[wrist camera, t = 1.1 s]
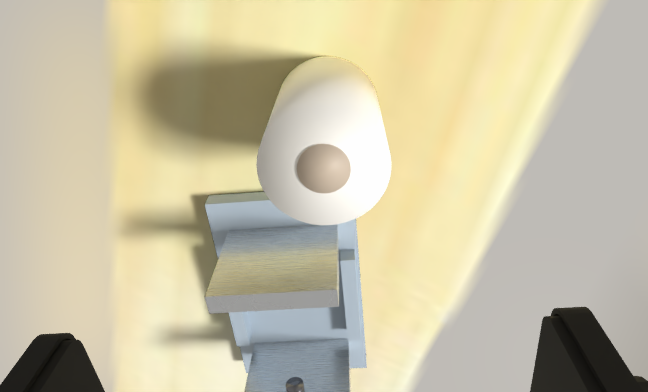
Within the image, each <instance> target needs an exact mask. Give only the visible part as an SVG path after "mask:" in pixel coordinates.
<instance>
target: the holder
mask: <svg viewBox="0 0 648 392" xmlns="http://www.w3.org/2000/svg"><path fill="white" fill-rule="evenodd" d="M205 208H206V212H207V216H208V220H209V224H210V228H211V232H212V236H213V241H214V245H215V249H216V253H217V257H218V259H219V256H220V253H221V250H222V248H223V245H224V242H225V239H226V237H227V234H228V231H229V230H235V229H251V228H266V227H282V226H297V225H312V224H309V223H305V222H302V221H299V220H296V219H294V218H292V217H290V216H288V215H287V214H285V213H283V212H282V211H281V210H279V209H278V208H277V207H276V206H275V205H274V204H273V203H272V202H271V201H270V199H269V198H268V197H267V196H266V194H265V192H251V193H237V194H222V195H209V196H208V199H207V201H206V203H205ZM338 233H339V307H324V308H305V309H286V310H267V311H248V312H229V317H230V321H231V325H232V329H233V333H234V337H235V341H236V345H237V346H240V349H241V354H242V358H243V362H244V366H245V370H246V373H248V372H249V367H250V362H251V357H252V352H253V347H254V343H260V342H281V341H302V340H322V339H343V338H348V341H349V349H350V368H367V366H366V350H365V337H364V323H363V309H362V295H361V282H360V268H359V254H358V240H357V227H356V219H354V220H351V221H348V222H345V223H341V224H338Z"/></svg>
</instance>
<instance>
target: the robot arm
mask: <svg viewBox="0 0 648 392" xmlns="http://www.w3.org/2000/svg"><path fill="white" fill-rule="evenodd" d="M0 392H105V391H104V389H103V387H102V385H101V382H100V380H99V378H98V376H97V374H96V372H95V370H94V368H93V365H92V363H91V361H90V359H89V357H88V355H87V352H86V350H85V348H84V346H83V344H82V343H81V341H79V340H76V339H75V338H74V336H73V335H72V334H70V333H59V334H41V335H39V336H37V337H36V338H35V339H34V340H33V341H32V343H31V344H30V345H29V347H28V348H27V349H26V351H25V352H24V354H23V355H22V356H21V358H20V359H19V360H18V362H17V363H16V365H15V366H14V367H13V368H12V370H11V371H10V373H9V374H8V375H7V377H6V378H5V379H4V381H3V382H2V384H1V385H0ZM530 392H648V381H647V380H645V379H644V378H643V377H639V376H633V375H632V373H631V372H630V371H629V369H628V367H627V366H626V364H625V363H624V361H623V360H622V358H621V357H620V355H619V353H618V352H617V350H616V349H615V347H614V346H613V344H612V343H611V341H610V340H609V338H608V337H607V335H606V334H605V332H604V330H603V329H602V327H601V326H600V324H599V323H598V321H597V320H596V318H595V317H594V315H593V314H592V312H591V311H590V310H589V309H588V308H587V307H573V308H555V309H553V311H552V313H551V316H548V317H547V316H546V317H544V318H543V321H542V326H541V333H540V338H539V343H538V349H537V355H536V361H535V367H534V373H533V379H532V384H531V391H530Z"/></svg>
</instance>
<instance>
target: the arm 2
mask: <svg viewBox="0 0 648 392" xmlns="http://www.w3.org/2000/svg"><path fill="white" fill-rule="evenodd" d="M245 392H351V386H350V349H349V341H348V338H343V339H322V340H302V341H281V342H260V343H254V347H253V352H252V357H251V362H250V367H249V372H248V377H247V382H246V387H245Z"/></svg>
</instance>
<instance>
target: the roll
mask: <svg viewBox="0 0 648 392" xmlns="http://www.w3.org/2000/svg"><path fill="white" fill-rule="evenodd" d="M257 174H258V177H259V181H260V184H261V186H262V189H263V190H264V192H265V194H266V196H267V197H268V198H269V199H270V201H271V202H272V203H273V204H274V205H275V206H276V207H277V208H278V209H279V210H281V211H282V212H283V213H285V214H287V215H288V216H290V217H292V218H294V219H296V220H299V221H302V222H305V223H309V224H314V225H336V224H341V223H345V222H348V221H351V220H354V219H356V218H358V217H360V216H361V215H363V214H364V213H366V212H367V211H369V210H370V209H371V208H372V207H373V206H374V205H375V204H376V203H377V202H378V201H379V200H380V198H381V197H382V195H383V194H384V192H385V190H386V188H387V185H388V182H389V180H390V174H391V156H390V151H389V147H388V142H387V138H386V133H385V129H384V124H383V120H382V115H381V111H380V107H379V102H378V98H377V94H376V90H375V87H374V85H373V83H372V81H371V79H370V78H369V77H368V75H367V74H366V73H365V72H364V71H363V70H362V69H361V68H360V67H358V66H357V65H356V64H354V63H352V62H350V61H348V60H346V59H343V58H339V57H332V56H322V57H316V58H313V59H309V60H307V61H305V62H303V63H301V64H300V65H298V66H297V67H295V68H294V69H293V70H292V71H291V72H290V73H289V74H288V76H287V77H286V78H285V80H284V82H283V84H282V86H281V88H280V91H279V94H278V97H277V99H276V102H275V105H274V108H273V110H272V113H271V116H270V119H269V121H268V124H267V127H266V130H265V133H264V135H263V138H262V141H261V144H260V147H259V150H258V155H257Z"/></svg>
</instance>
